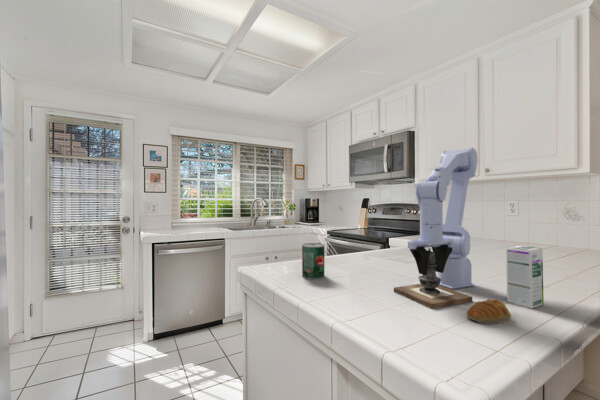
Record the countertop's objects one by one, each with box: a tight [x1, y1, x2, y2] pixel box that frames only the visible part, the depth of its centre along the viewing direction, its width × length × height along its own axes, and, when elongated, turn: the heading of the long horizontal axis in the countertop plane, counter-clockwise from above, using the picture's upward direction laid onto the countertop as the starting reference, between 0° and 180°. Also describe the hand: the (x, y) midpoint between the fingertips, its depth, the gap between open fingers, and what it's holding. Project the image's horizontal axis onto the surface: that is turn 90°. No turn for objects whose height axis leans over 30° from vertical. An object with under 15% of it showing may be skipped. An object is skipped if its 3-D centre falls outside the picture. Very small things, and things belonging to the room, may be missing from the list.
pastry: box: [466, 299, 512, 325], centre depth 65 cm, size 9×7×4 cm
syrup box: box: [505, 245, 545, 310], centre depth 74 cm, size 6×6×14 cm
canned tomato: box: [301, 242, 326, 280], centre depth 101 cm, size 8×8×11 cm
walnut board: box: [393, 283, 474, 310], centre depth 80 cm, size 14×14×1 cm
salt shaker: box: [418, 247, 441, 294], centre depth 80 cm, size 6×6×12 cm
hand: (431, 273), depth 80 cm, fingers open, 5 cm apart
